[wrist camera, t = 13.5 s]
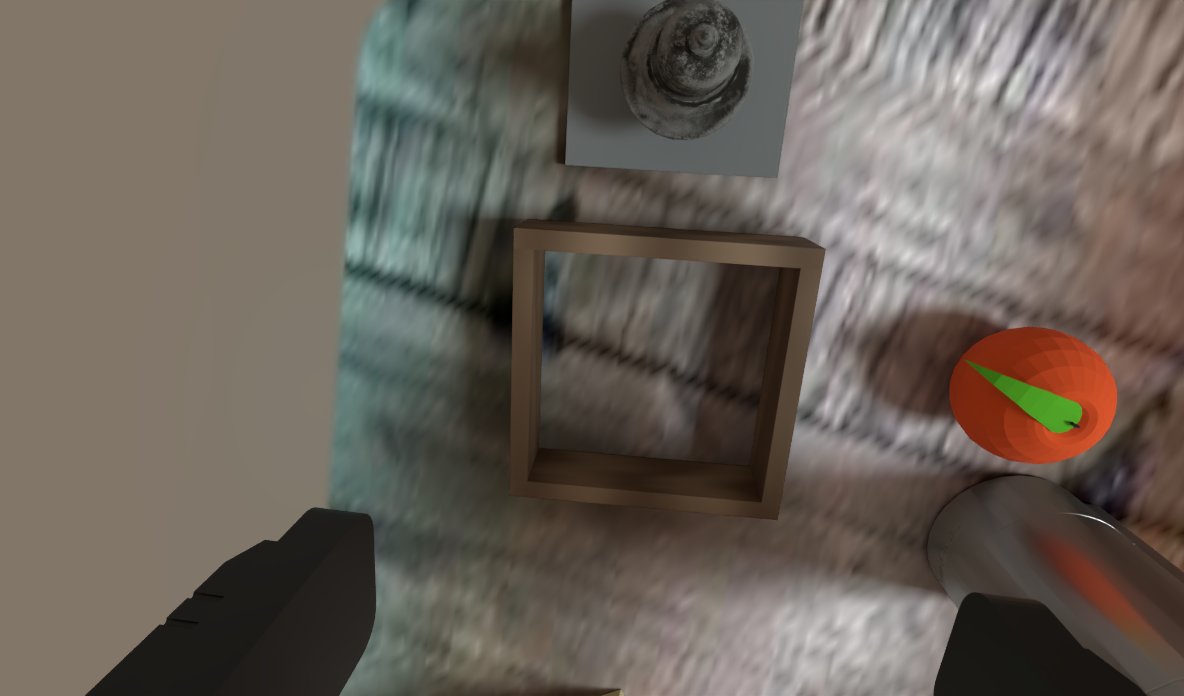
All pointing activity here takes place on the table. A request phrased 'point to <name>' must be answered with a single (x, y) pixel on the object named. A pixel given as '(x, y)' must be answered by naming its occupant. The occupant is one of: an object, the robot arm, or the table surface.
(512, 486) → the walnut crate
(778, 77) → the mat
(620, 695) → the milk carton
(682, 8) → the stone chess piece
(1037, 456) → the clementine
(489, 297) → the table surface
